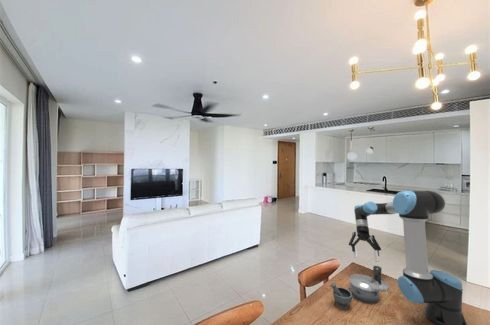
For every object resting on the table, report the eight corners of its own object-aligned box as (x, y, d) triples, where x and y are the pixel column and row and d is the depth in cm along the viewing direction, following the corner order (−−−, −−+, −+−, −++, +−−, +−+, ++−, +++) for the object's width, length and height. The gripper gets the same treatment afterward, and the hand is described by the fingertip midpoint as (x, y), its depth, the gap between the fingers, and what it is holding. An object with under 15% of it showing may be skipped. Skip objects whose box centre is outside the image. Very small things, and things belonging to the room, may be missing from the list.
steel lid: (392, 292, 126) (392, 274, 125) (369, 289, 128) (370, 271, 128) (383, 281, 137) (384, 263, 137) (363, 278, 140) (363, 261, 140)
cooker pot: (384, 306, 114) (384, 291, 114) (353, 301, 118) (353, 287, 118) (373, 288, 130) (374, 275, 129) (346, 284, 133) (346, 272, 133)
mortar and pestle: (347, 299, 120) (347, 278, 120) (355, 311, 111) (355, 289, 110) (327, 298, 121) (327, 278, 120) (333, 310, 111) (334, 288, 111)
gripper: (377, 231, 149) (382, 263, 138) (342, 225, 151) (344, 256, 140) (383, 228, 143) (389, 262, 132) (346, 222, 145) (349, 254, 134)
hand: (366, 259), depth 136 cm, fingers open, 13 cm apart
